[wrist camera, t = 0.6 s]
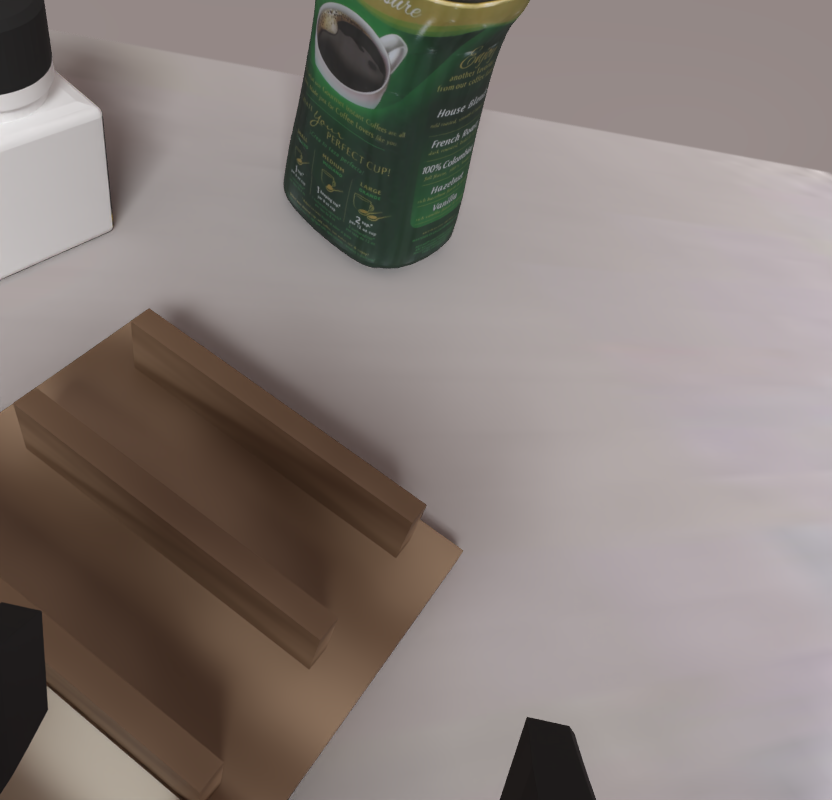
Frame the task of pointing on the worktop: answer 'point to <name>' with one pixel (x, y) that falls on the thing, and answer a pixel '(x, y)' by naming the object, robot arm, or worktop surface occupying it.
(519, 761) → the robot arm
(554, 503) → the worktop surface
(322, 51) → the coffee jar
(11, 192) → the medicine bottle
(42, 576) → the slot rack
